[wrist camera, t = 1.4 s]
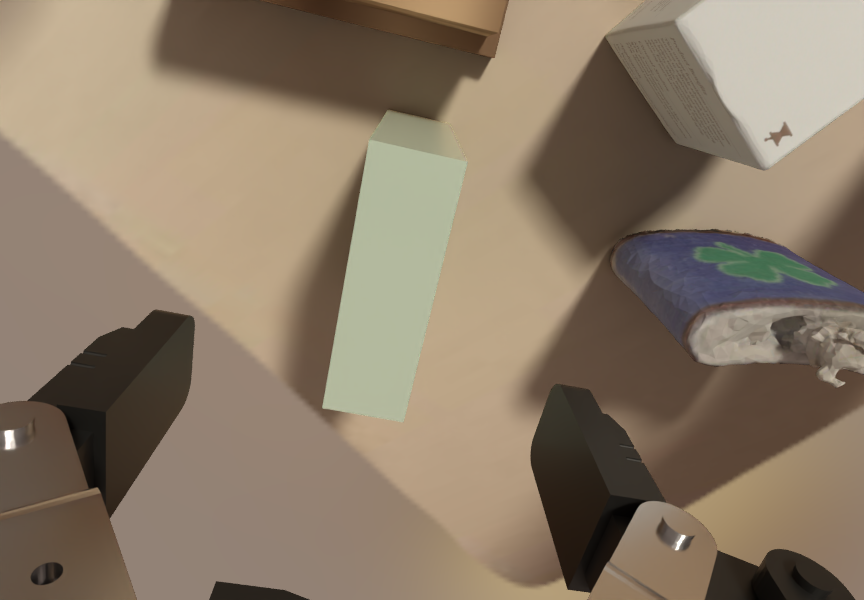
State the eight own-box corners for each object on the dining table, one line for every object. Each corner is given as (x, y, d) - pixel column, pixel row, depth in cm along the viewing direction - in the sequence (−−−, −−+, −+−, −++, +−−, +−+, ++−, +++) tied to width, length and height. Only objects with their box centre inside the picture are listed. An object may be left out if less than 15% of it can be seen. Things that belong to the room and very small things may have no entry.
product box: (795, 53, 24) (942, 51, 17) (673, 147, 25) (764, 178, 19) (728, -77, 22) (864, -136, 15) (599, 33, 24) (671, 23, 17)
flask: (603, 277, 28) (704, 395, 18) (616, 220, 27) (731, 313, 17) (779, 291, 28) (971, 413, 19) (799, 235, 27) (1015, 334, 17)
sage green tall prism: (449, 123, 25) (467, 161, 16) (408, 304, 28) (403, 422, 19) (388, 109, 25) (369, 139, 15) (354, 293, 28) (322, 408, 19)
